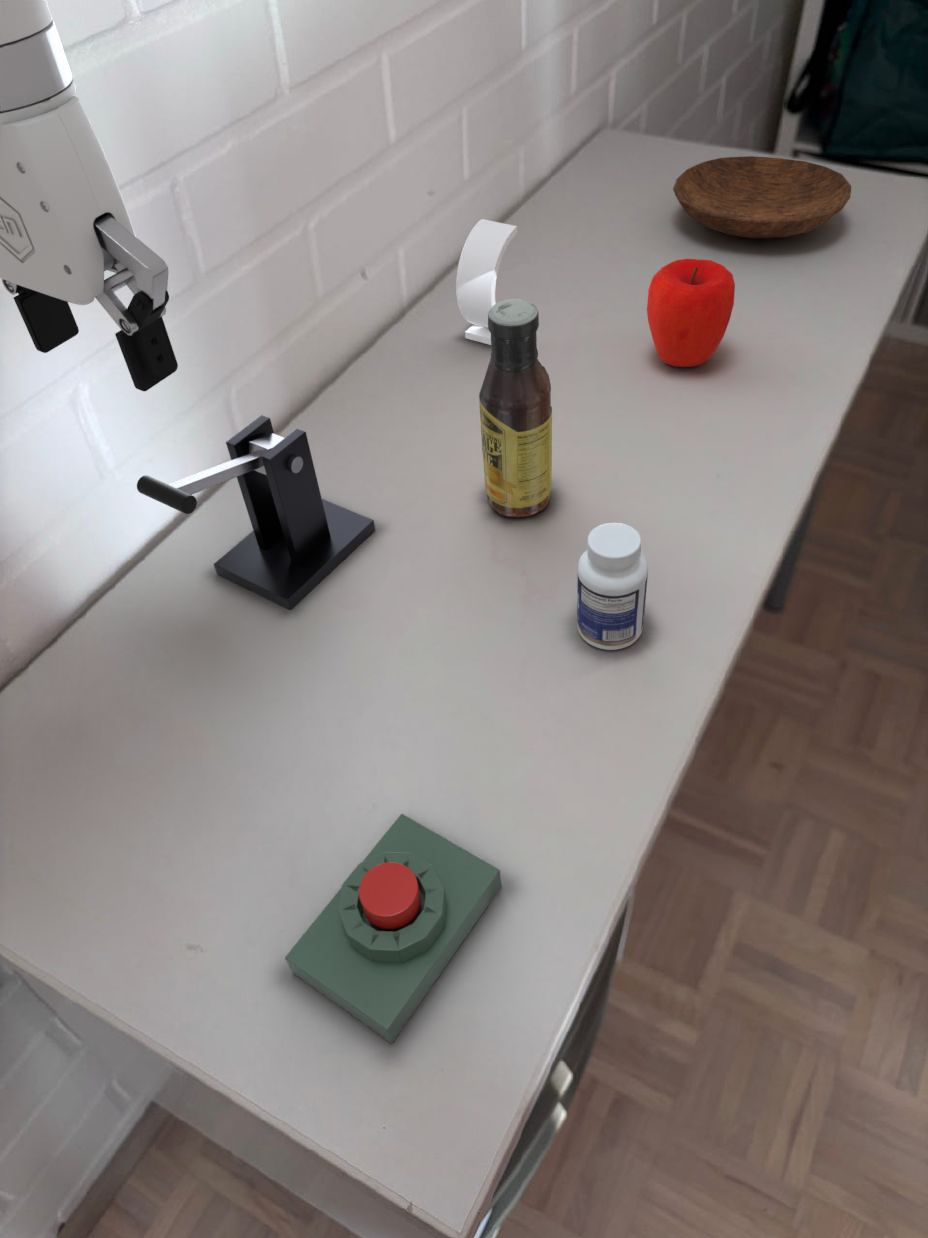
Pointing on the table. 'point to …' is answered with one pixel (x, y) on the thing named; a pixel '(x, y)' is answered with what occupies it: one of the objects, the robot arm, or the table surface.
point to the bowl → (761, 195)
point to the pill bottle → (611, 587)
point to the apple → (689, 310)
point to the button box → (395, 930)
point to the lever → (207, 477)
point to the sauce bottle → (516, 413)
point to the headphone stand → (481, 274)
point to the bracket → (287, 522)
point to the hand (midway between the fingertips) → (107, 360)
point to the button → (390, 895)
